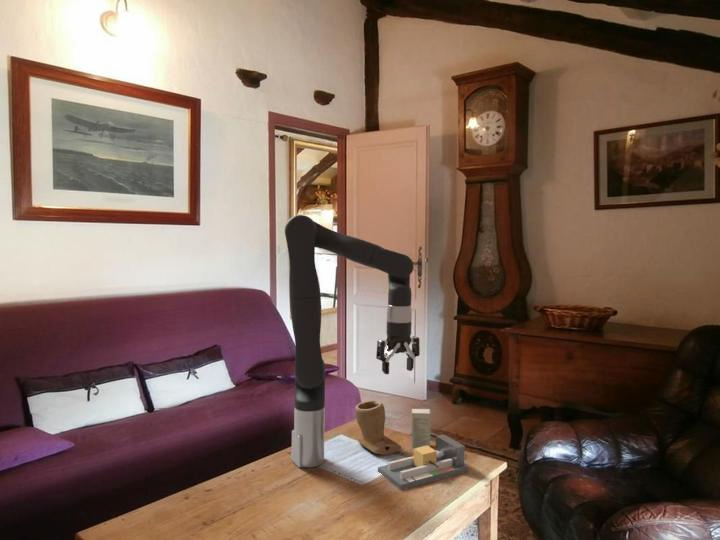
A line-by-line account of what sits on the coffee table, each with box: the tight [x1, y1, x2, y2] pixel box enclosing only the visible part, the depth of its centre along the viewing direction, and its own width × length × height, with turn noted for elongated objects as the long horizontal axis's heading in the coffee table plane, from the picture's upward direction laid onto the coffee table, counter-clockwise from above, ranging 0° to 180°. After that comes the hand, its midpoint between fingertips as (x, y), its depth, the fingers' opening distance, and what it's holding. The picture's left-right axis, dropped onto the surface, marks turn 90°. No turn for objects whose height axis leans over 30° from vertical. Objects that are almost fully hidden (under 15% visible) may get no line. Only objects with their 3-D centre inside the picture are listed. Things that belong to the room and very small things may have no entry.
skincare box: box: [411, 408, 431, 450], centre depth 172 cm, size 6×4×12 cm
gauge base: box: [377, 451, 469, 491], centre depth 155 cm, size 24×12×4 cm, turn 119°
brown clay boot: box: [354, 399, 403, 456], centre depth 171 cm, size 15×12×15 cm
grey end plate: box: [435, 434, 466, 468], centre depth 159 cm, size 3×10×6 cm, turn 29°
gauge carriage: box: [412, 446, 444, 468], centre depth 154 cm, size 9×9×5 cm
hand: (397, 372), depth 160 cm, fingers open, 8 cm apart
